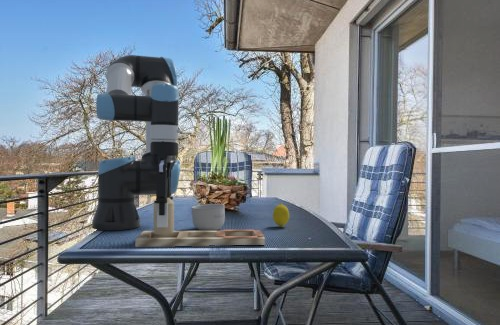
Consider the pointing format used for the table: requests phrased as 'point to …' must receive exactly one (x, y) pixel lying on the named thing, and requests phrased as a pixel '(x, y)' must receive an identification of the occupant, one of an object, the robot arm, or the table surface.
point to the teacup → (208, 216)
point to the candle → (170, 226)
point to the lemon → (281, 215)
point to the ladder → (200, 238)
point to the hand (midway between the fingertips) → (163, 224)
